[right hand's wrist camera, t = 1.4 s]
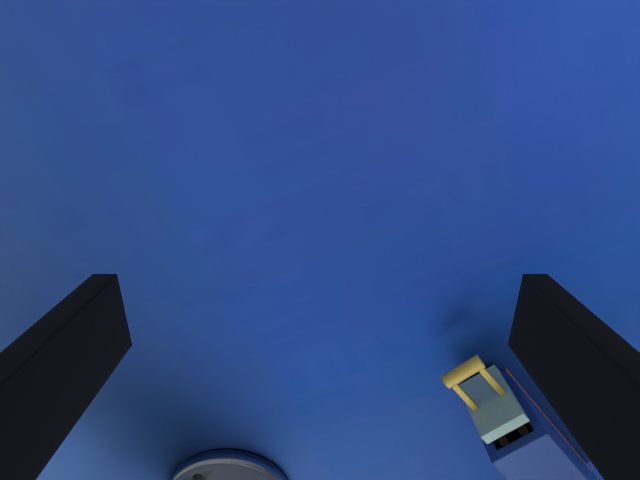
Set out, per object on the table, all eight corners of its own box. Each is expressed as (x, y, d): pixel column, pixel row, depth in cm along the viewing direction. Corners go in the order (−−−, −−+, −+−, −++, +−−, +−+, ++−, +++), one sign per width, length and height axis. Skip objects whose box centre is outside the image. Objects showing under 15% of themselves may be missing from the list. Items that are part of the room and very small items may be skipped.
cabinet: (461, 394, 44) (491, 463, 36) (506, 368, 43) (547, 433, 35) (545, 485, 50) (587, 562, 42) (587, 465, 48) (639, 540, 40)
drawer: (429, 355, 41) (448, 404, 35) (466, 332, 40) (492, 377, 34) (539, 475, 48) (571, 534, 41) (574, 458, 46) (612, 515, 40)
